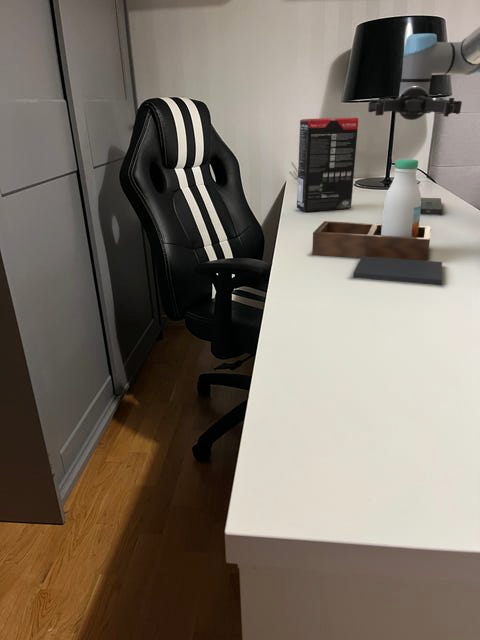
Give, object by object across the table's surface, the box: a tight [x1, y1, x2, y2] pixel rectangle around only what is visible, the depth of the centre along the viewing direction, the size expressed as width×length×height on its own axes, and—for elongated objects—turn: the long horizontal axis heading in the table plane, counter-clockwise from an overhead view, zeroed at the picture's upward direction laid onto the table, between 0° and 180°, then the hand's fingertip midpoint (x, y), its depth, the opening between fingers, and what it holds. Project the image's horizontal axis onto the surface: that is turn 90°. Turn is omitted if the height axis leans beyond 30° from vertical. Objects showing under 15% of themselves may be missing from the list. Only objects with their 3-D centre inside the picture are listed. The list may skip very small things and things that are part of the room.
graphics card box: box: [296, 117, 359, 212], centre depth 155 cm, size 17×7×27 cm, turn 109°
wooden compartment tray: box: [311, 220, 432, 261], centre depth 113 cm, size 24×12×5 cm, turn 70°
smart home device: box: [420, 197, 443, 216], centre depth 158 cm, size 8×2×20 cm
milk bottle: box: [381, 158, 422, 237], centre depth 108 cm, size 8×8×20 cm
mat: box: [352, 256, 443, 286], centre depth 99 cm, size 16×12×1 cm
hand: (414, 109), depth 108 cm, fingers open, 13 cm apart
